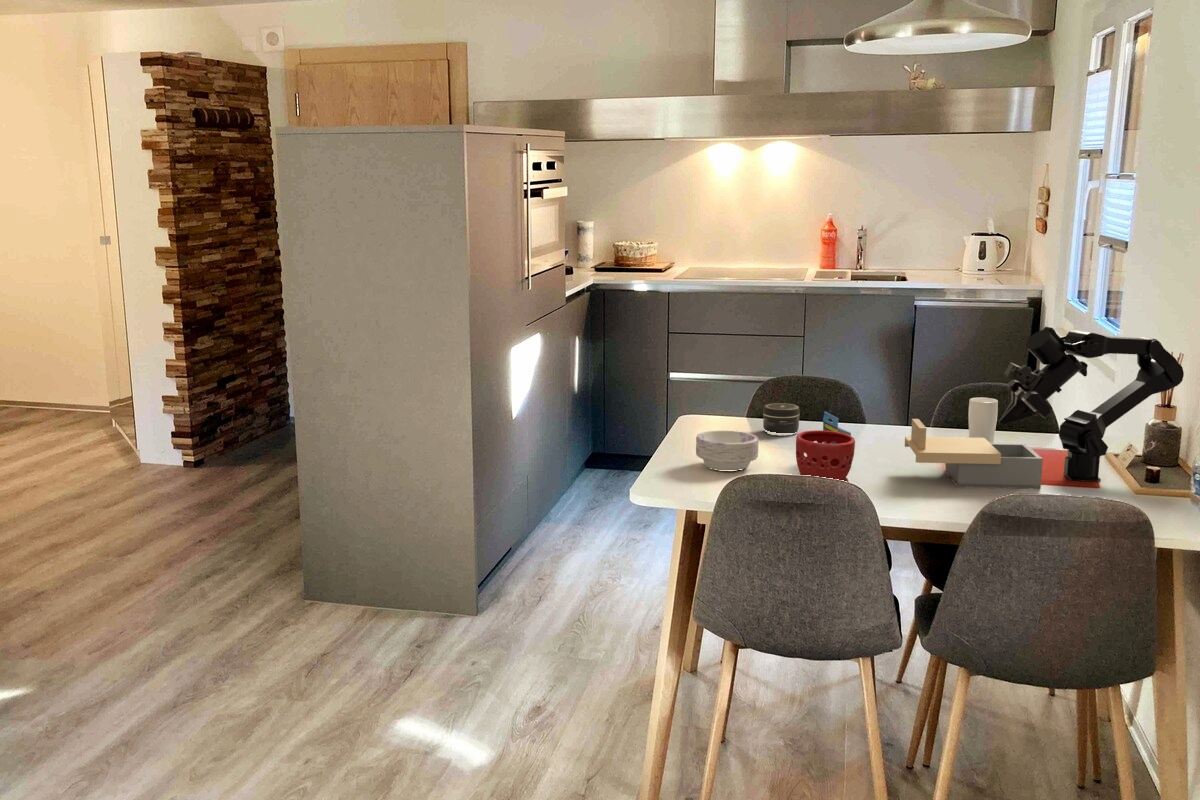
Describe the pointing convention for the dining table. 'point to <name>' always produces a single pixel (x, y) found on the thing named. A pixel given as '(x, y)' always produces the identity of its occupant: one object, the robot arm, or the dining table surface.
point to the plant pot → (825, 454)
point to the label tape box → (832, 426)
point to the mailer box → (1001, 470)
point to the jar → (781, 418)
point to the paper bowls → (727, 449)
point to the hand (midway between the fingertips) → (1000, 423)
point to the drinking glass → (982, 418)
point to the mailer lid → (950, 448)
